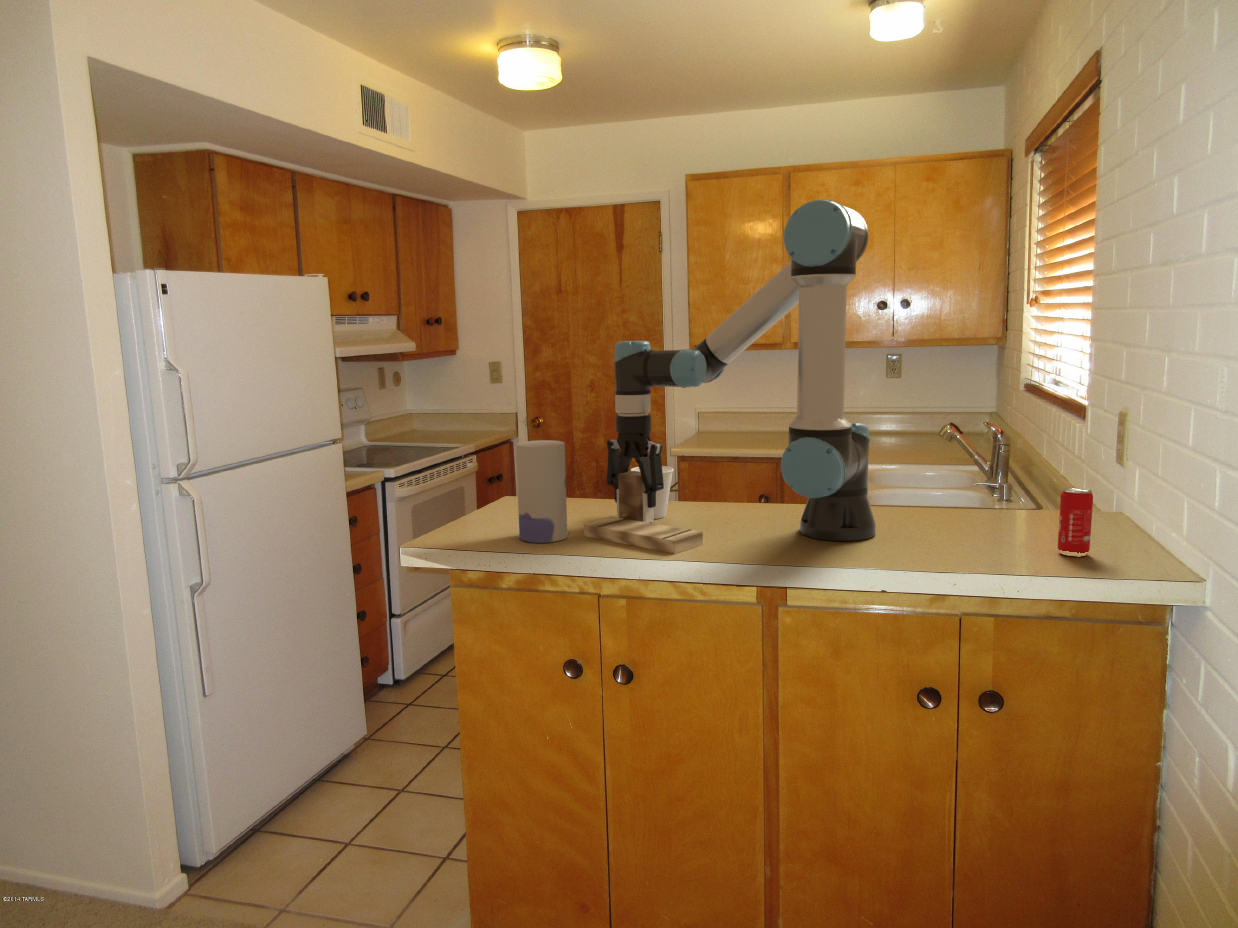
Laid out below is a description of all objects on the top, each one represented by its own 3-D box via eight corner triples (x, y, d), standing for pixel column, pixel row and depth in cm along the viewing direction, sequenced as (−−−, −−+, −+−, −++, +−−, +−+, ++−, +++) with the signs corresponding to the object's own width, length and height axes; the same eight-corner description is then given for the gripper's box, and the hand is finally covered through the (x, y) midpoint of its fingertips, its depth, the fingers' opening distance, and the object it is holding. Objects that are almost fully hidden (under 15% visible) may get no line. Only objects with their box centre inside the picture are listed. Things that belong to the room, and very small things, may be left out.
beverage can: (1072, 559, 154) (1077, 493, 152) (1050, 552, 158) (1054, 488, 157) (1095, 556, 155) (1100, 491, 153) (1073, 549, 160) (1077, 486, 158)
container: (577, 535, 179) (574, 441, 176) (547, 545, 171) (543, 447, 168) (540, 529, 185) (536, 438, 182) (509, 539, 177) (505, 444, 174)
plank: (702, 544, 170) (702, 531, 169) (675, 553, 163) (675, 540, 163) (612, 527, 185) (612, 516, 185) (584, 535, 179) (583, 523, 178)
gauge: (651, 527, 185) (651, 472, 183) (632, 533, 180) (631, 477, 178) (634, 524, 188) (633, 470, 186) (614, 529, 184) (613, 475, 182)
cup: (675, 520, 191) (674, 472, 189) (631, 521, 191) (630, 473, 189) (673, 511, 200) (672, 465, 199) (631, 512, 201) (630, 466, 199)
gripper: (680, 414, 177) (682, 522, 181) (610, 410, 190) (612, 511, 194) (658, 418, 172) (660, 529, 175) (587, 413, 185) (590, 517, 188)
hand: (635, 519), depth 185 cm, fingers open, 7 cm apart
